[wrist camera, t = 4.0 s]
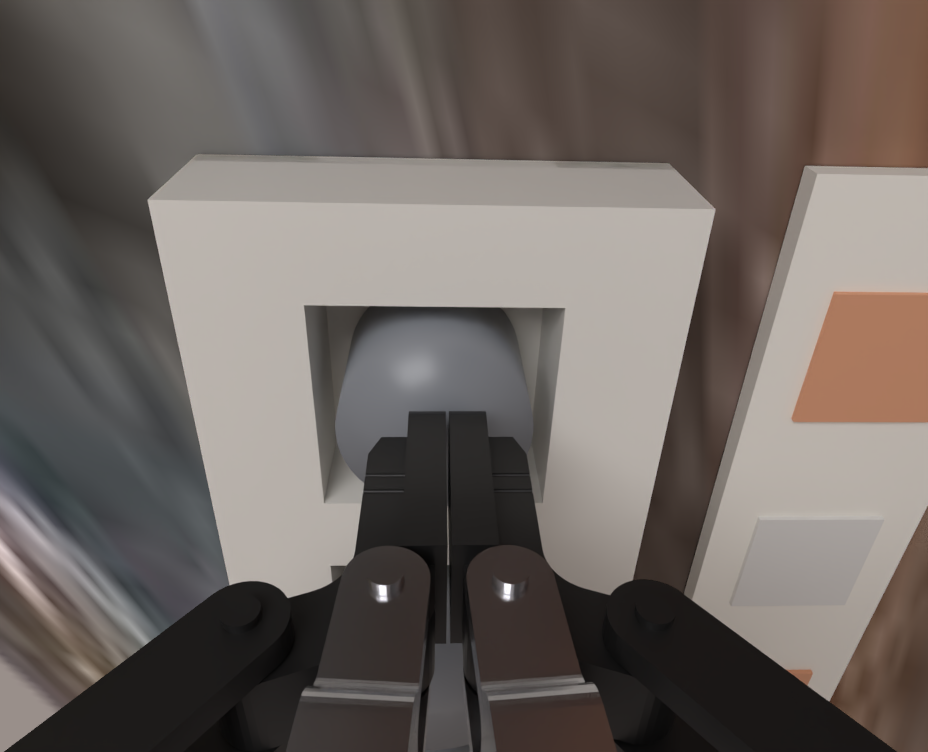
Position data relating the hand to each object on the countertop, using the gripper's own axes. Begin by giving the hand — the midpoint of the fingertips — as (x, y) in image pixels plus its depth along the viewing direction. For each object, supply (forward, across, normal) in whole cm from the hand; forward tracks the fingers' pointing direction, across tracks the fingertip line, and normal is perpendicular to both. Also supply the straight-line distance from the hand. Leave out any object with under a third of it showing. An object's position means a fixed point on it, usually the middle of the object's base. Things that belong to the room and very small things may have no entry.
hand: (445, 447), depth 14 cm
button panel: (+4, 0, +7) cm, 8 cm away
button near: (+4, 0, 0) cm, 4 cm away
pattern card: (+4, -11, +7) cm, 14 cm away
